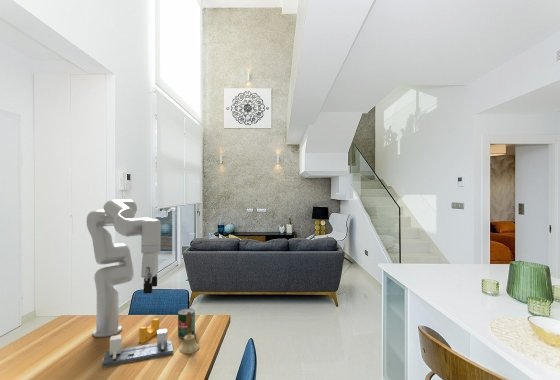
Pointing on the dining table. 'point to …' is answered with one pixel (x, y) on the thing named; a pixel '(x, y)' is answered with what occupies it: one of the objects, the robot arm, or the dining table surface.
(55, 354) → the dining table surface
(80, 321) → the dining table surface
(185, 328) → the canned tomato
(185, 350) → the hand bell
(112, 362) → the plate
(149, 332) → the pipe clamp
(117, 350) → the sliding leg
